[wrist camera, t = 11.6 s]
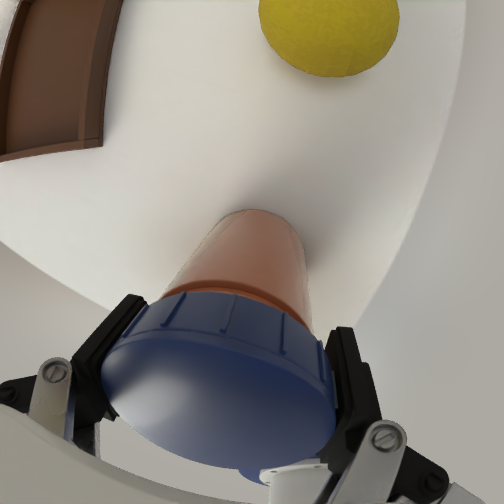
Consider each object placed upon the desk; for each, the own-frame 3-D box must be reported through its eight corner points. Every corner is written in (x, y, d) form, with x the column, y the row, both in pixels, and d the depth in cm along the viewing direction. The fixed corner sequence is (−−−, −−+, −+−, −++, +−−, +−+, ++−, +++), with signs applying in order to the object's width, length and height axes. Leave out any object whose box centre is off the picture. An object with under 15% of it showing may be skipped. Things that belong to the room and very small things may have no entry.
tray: (102, 146, 14) (84, 149, 13) (6, 160, 16) (-9, 164, 14) (141, -52, 8) (130, -62, 6) (32, 2, 9) (20, -1, 7)
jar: (296, 305, 17) (295, 444, 8) (205, 293, 18) (145, 416, 9) (311, 216, 15) (343, 333, 6) (206, 204, 15) (106, 296, 6)
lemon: (251, 69, 12) (213, 2, 5) (287, -3, 10) (281, -91, 2) (348, 108, 12) (412, 78, 5) (378, 33, 10) (440, -30, 3)
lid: (94, 320, 8) (63, 355, 6) (284, 251, 6) (281, 297, 4) (195, 434, 10) (184, 468, 8) (350, 411, 8) (355, 455, 6)
